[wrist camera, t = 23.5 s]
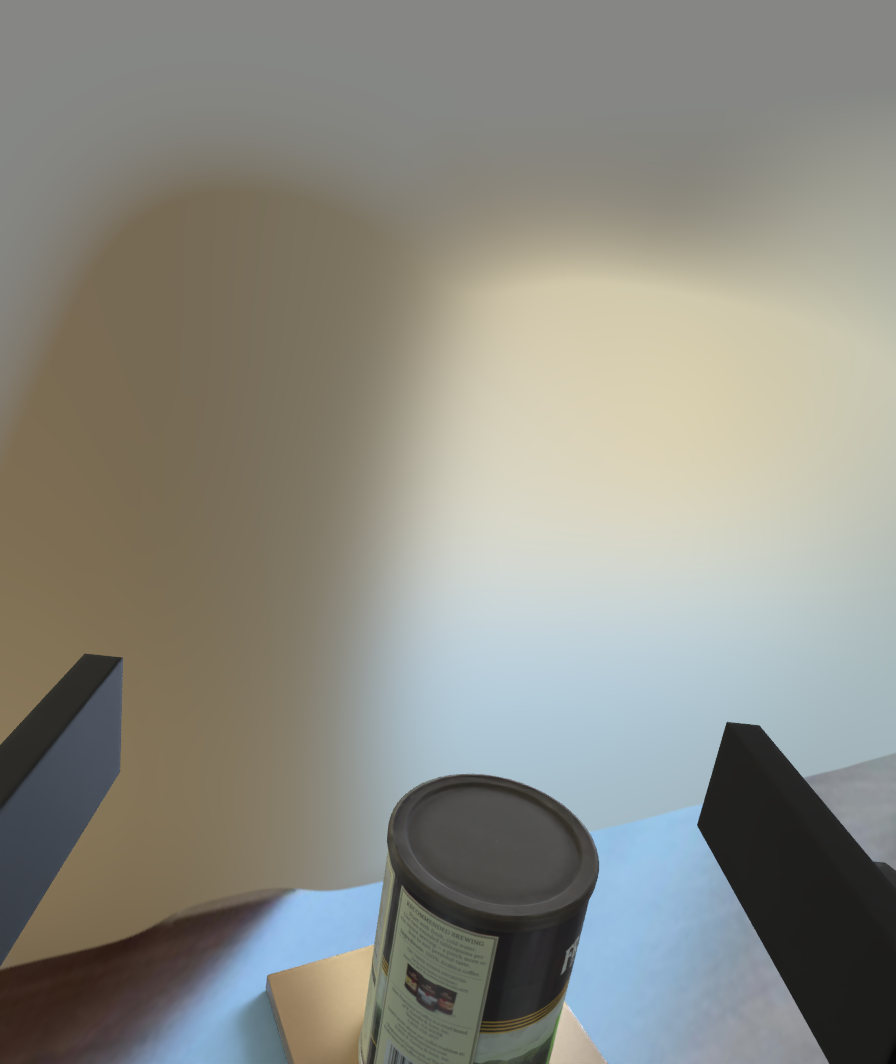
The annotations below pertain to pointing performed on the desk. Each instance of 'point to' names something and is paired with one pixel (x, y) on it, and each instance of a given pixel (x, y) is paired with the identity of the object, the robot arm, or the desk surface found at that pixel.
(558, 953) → the coffee can
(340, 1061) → the cork mat
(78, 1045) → the desk surface
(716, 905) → the desk surface
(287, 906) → the desk surface
